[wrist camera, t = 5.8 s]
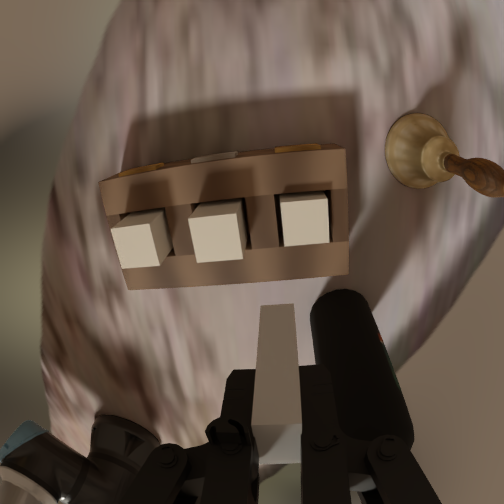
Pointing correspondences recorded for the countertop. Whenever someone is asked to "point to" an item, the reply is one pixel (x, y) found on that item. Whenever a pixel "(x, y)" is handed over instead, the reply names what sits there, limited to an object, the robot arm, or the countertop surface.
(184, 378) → the countertop surface
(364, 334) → the wine bottle
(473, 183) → the hand bell
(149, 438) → the robot arm
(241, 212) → the middle button
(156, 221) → the inner button
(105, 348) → the countertop surface
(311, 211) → the outer button
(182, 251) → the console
